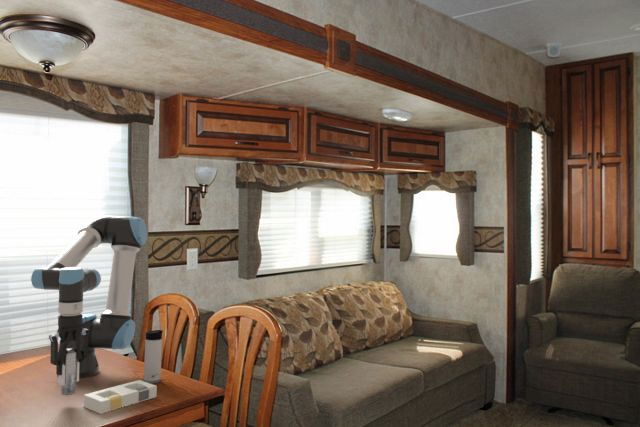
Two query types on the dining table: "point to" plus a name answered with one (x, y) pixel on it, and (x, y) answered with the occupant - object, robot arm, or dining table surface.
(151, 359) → the travel mug
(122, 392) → the socket board
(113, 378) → the dining table surface
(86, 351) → the robot arm
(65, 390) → the plug
